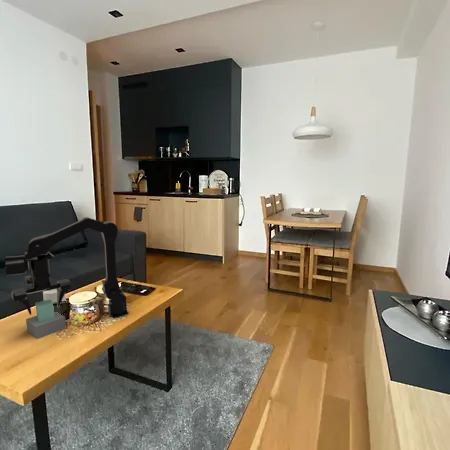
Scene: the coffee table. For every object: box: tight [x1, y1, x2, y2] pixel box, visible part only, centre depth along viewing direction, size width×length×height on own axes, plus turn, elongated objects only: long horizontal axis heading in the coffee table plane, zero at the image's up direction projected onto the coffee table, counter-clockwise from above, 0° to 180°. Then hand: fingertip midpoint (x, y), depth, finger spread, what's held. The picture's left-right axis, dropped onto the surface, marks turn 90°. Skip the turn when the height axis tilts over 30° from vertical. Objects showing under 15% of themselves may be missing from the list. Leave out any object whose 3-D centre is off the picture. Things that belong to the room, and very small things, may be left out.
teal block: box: [35, 299, 55, 322], centre depth 113 cm, size 5×5×6 cm
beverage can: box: [42, 289, 67, 303], centre depth 126 cm, size 8×8×12 cm
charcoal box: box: [25, 312, 67, 340], centre depth 113 cm, size 10×10×5 cm
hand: (44, 310), depth 113 cm, fingers open, 9 cm apart
